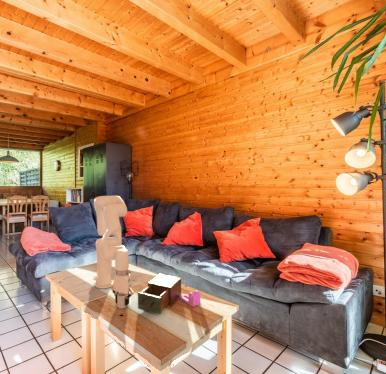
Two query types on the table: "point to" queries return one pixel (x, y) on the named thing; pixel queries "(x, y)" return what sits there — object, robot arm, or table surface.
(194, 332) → the table surface
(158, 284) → the cabinet
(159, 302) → the drawer
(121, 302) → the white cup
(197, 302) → the bracket
